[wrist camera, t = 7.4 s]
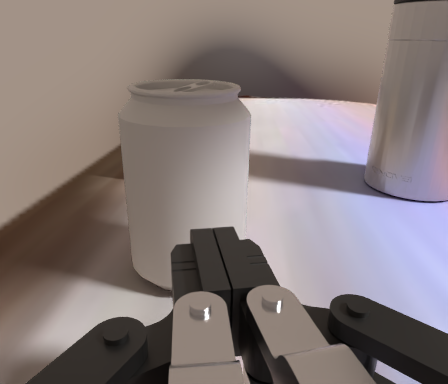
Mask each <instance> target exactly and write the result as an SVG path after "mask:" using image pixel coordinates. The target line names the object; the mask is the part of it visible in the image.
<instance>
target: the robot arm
mask: <svg viewBox="0 0 448 384" xmlns="http://www.w3.org/2000/svg"><path fill="white" fill-rule="evenodd" d="M394 4H395V5H394V6H393V12H392V18H391V24H390V29H389V36H388V42H387V48H386V54H385V59H384V66H383V71H382V77H381V83H380V88H379V94H378V100H377V106H376V112H375V118H374V123H373V129H372V135H371V141H370V146H369V152H368V158H367V164H366V170H365V175H364V180H365V181H366V183H367V184H368V185H370V186H371V187H373V188H375V189H377V190H379V191H381V192H384V193H387V194H390V195H393V196H397V197H402V198H406V199H412V200H421V201H445V200H448V0H395V1H394ZM171 276H172V295H173V309H172V311H171V312H170V314H169V315H168V316H167V317H165V318H164V319H163V320H161V321H159V322H157V323H154V324H152V325H149V326H146V327H145V326H144V325H143V323H141V322H140V321H138V320H137V319H134V318H130V317H117V318H112V319H108V320H106V321H103V322H102V323H100V324H98V325H97V326H95V327H94V328H93V329H92V330H90V331H89V332H88V333H87V334H85V335H84V336H83V337H82V338H81V339H79V340H78V341H77V342H76V343H75V344H73V345H72V346H71V347H70V348H68V349H67V350H66V351H65V352H64V353H62V354H61V355H60V356H59V357H57V358H56V359H55V360H54V361H53V362H51V363H50V364H49V365H48V366H46V367H45V368H44V369H43V370H42V371H40V372H39V373H38V374H37V375H36V376H34V377H33V378H32V379H31V380H29V381H28V382H27V383H26V384H244V383H245V384H395V383H394V382H392V381H390V380H388V379H387V378H385V377H383V376H381V375H379V374H378V373H376V372H375V368H376V364H377V360H379V361H381V362H383V363H384V364H386V365H388V366H390V367H392V368H394V369H396V370H397V371H399V372H401V373H403V374H405V375H407V376H409V377H410V378H412V379H414V380H416V381H418V382H420V383H422V384H448V334H447V333H445V332H443V331H440V330H438V329H436V328H434V327H431V326H429V325H427V324H425V323H422V322H420V321H418V320H415V319H413V318H411V317H409V316H406V315H404V314H402V313H400V312H397V311H395V310H393V309H391V308H388V307H386V306H384V305H382V304H379V303H377V302H375V301H373V300H370V299H368V298H365V297H363V296H359V295H353V294H345V295H340V296H337V297H335V298H334V299H333V300H332V301H331V304H330V309H327V308H319V307H311V306H306V305H302V304H301V303H300V302H299V300H298V299H297V297H296V296H295V295H294V294H293V293H292V292H291V291H289V290H288V289H286V288H283V287H280V285H279V283H278V281H277V279H276V278H275V276H274V274H273V272H272V270H271V268H270V266H269V264H267V260H266V258H265V257H264V255H263V253H262V251H261V249H260V247H259V246H258V245H257V244H255V243H254V242H253V241H251V240H250V239H244V240H239V237H238V235H237V233H236V231H235V228H234V227H233V226H231V227H216V228H202V229H190V244H177V245H175V247H174V249H173V250H172V252H171ZM235 356H242V360H243V374H242V368H241V364H240V361H239V360H237V361H236V359H235Z"/></svg>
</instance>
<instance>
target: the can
mask: <svg viewBox="0 0 448 384" xmlns="http://www.w3.org/2000/svg"><path fill="white" fill-rule="evenodd" d="M127 89H128V90H129V91H130V92H131V98H130V99H129V100H128V102H127V103H126V104H125V106H124V107H123V108H122V109H121V111H120V112H119V113H118V119H119V129H120V140H121V151H122V162H123V172H124V183H125V193H126V204H127V214H128V225H129V236H130V246H131V257H132V263H133V268H134V269H135V270H136V271H137V272H138V274H139V275H140V276H141V277H142V278H144V279H146V280H148V281H150V282H152V283H153V284H155V285H157V286H159V287H161V288H163V289H167V290H171V291H172V276H171V252H172V250H173V249H174V247H175V245H177V244H190V229H202V228H216V227H231V226H233V227H234V228H235V231H236V233H237V235H238V237H239V240H244V239H246V219H247V195H248V172H249V149H250V126H251V114H250V112H249V111H248V109H247V108H246V107H245V106H244V104H243V103H242V102H241V101H240V100H239V98H238V93H239V92H240V90H241V88H240V86H239V85H237V84H234V83H230V82H223V81H213V80H192V79H190V80H189V79H186V80H185V79H178V80H177V79H176V80H175V79H173V80H153V81H143V82H137V83H133V84H131V85H129V86H128V87H127Z"/></svg>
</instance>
